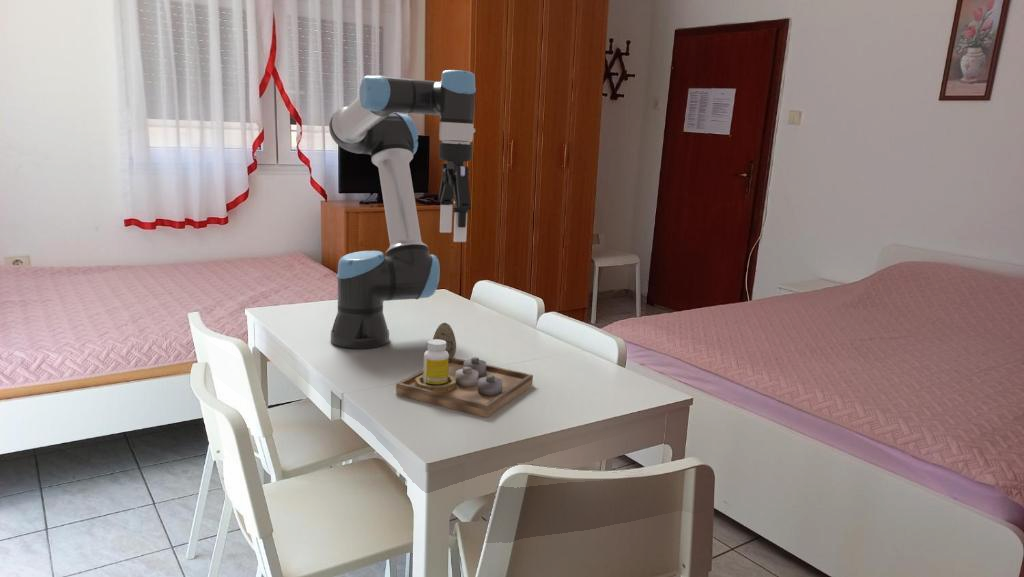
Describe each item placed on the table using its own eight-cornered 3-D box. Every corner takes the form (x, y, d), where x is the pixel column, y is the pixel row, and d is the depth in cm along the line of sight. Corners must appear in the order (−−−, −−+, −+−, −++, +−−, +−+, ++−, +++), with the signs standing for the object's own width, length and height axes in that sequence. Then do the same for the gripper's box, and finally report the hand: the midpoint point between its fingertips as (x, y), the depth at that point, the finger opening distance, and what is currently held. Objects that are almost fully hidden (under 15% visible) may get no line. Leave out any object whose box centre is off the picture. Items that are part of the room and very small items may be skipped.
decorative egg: (460, 362, 173) (462, 323, 171) (445, 367, 168) (446, 327, 166) (441, 356, 176) (443, 318, 174) (426, 362, 172) (427, 322, 169)
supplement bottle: (452, 387, 152) (454, 343, 150) (429, 391, 149) (431, 346, 147) (440, 379, 156) (442, 337, 154) (418, 382, 153) (419, 339, 151)
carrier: (396, 394, 150) (396, 372, 149) (449, 366, 169) (450, 346, 168) (486, 417, 141) (487, 393, 140) (532, 385, 160) (533, 364, 159)
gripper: (488, 145, 147) (483, 246, 151) (458, 141, 170) (455, 228, 174) (453, 143, 144) (449, 245, 149) (427, 140, 167) (425, 228, 172)
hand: (452, 237), depth 162 cm, fingers open, 13 cm apart
